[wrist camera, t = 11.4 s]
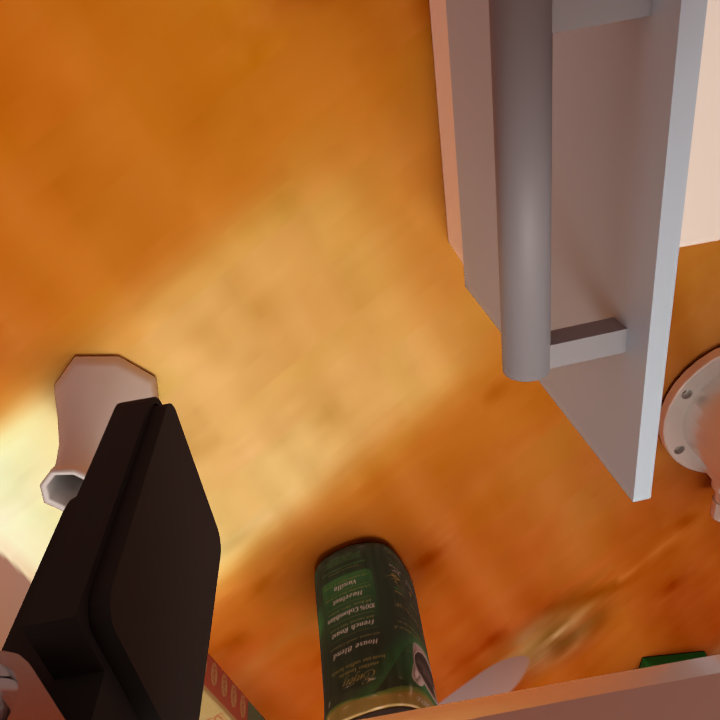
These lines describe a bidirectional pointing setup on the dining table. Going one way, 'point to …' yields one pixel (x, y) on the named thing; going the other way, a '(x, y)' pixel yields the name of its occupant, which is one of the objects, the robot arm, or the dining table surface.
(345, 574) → the coffee jar
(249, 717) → the carton
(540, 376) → the lid flap
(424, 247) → the dining table surface
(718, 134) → the box body
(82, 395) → the flask
